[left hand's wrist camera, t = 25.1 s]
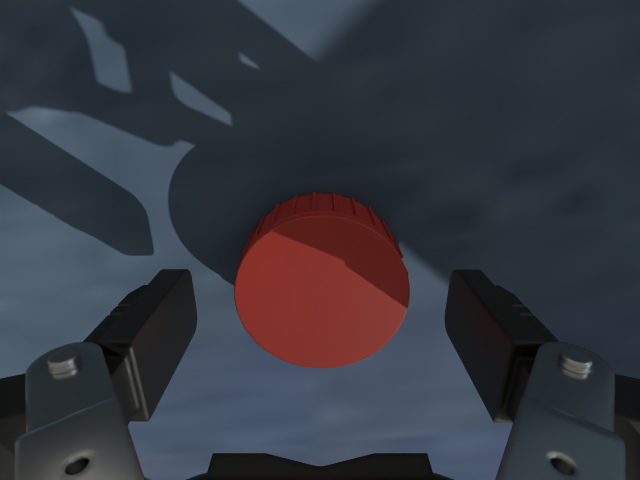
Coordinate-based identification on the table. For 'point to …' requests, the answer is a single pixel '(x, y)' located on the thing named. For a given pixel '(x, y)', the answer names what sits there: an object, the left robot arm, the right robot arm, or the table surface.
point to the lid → (321, 282)
